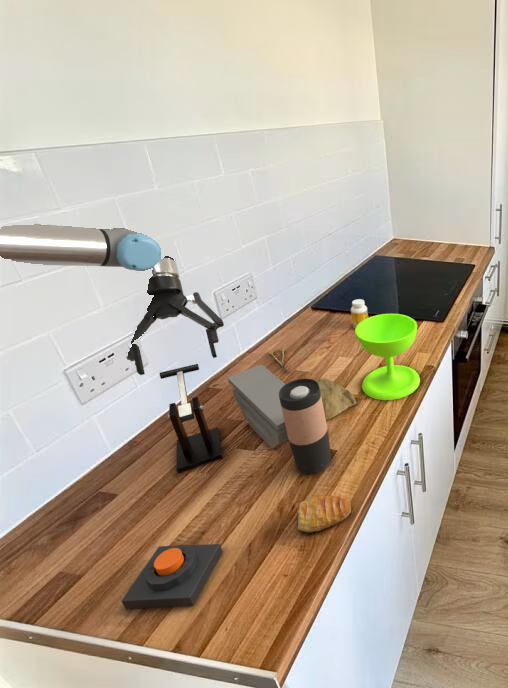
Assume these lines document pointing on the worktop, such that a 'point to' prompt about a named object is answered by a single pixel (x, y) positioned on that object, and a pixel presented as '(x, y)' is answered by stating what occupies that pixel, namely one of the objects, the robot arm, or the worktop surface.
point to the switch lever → (182, 390)
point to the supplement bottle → (358, 312)
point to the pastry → (322, 512)
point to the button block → (174, 579)
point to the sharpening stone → (261, 403)
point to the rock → (334, 398)
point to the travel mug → (306, 425)
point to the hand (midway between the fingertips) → (179, 364)
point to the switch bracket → (195, 440)
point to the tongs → (278, 360)
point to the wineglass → (388, 355)
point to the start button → (169, 562)
